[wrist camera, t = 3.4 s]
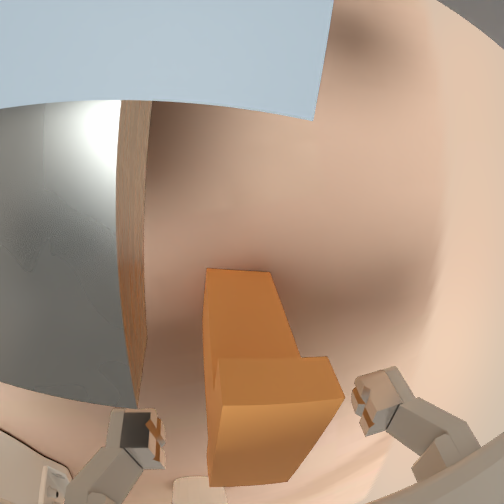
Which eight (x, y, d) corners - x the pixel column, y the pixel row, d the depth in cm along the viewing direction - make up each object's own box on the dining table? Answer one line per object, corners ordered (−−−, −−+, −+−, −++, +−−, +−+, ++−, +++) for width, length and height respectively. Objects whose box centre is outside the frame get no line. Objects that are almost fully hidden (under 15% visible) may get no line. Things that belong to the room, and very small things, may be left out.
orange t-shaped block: (254, 340, 17) (287, 481, 9) (200, 339, 16) (209, 487, 9) (275, 244, 14) (345, 397, 7) (209, 238, 14) (222, 405, 6)
